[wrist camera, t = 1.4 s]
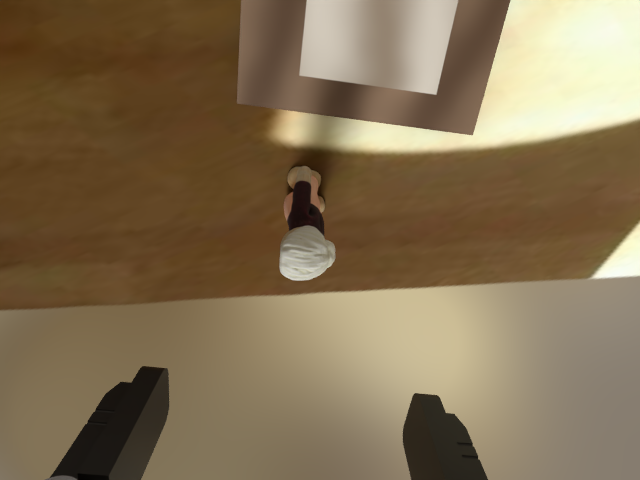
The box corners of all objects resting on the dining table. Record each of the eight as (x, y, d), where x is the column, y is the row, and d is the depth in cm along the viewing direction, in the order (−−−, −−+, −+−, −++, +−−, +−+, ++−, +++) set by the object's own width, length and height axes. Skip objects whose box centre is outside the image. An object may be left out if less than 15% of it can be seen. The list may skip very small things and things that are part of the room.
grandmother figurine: (270, 162, 31) (242, 213, 20) (315, 148, 31) (314, 192, 19) (299, 244, 34) (291, 331, 23) (341, 232, 34) (354, 315, 22)
